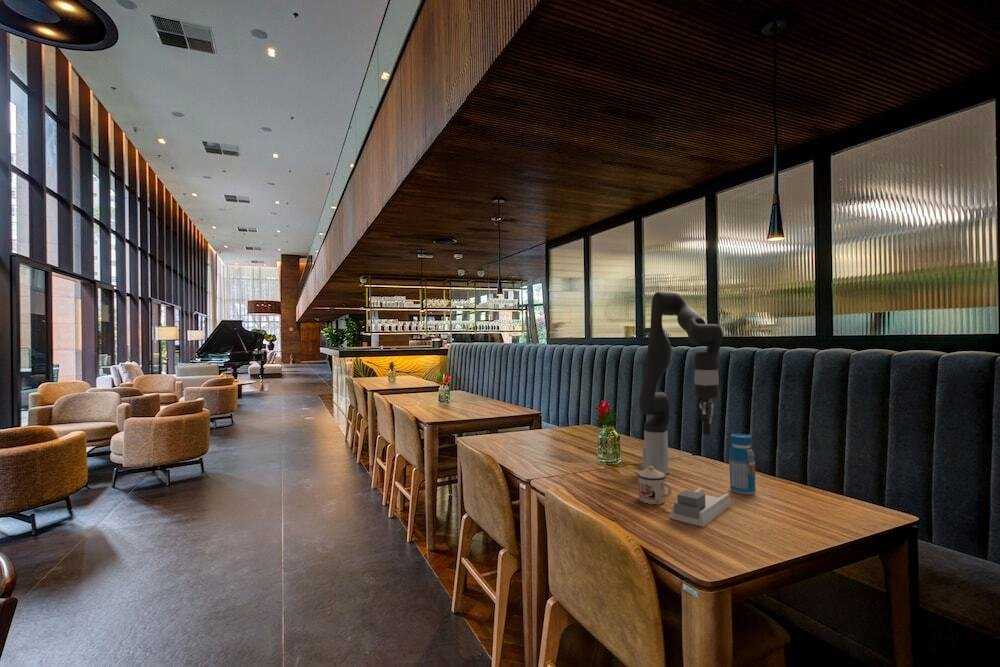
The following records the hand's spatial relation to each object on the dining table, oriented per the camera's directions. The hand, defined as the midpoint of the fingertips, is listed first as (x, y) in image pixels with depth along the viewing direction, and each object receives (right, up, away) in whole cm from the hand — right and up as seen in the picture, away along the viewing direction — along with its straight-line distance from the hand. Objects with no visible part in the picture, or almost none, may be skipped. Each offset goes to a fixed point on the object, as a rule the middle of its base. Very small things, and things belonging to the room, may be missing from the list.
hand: (707, 434), depth 153 cm
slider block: (-11, -20, -14) cm, 27 cm away
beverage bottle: (+18, -23, +10) cm, 31 cm away
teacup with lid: (-17, -23, +1) cm, 29 cm away
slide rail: (-6, -23, -9) cm, 25 cm away
